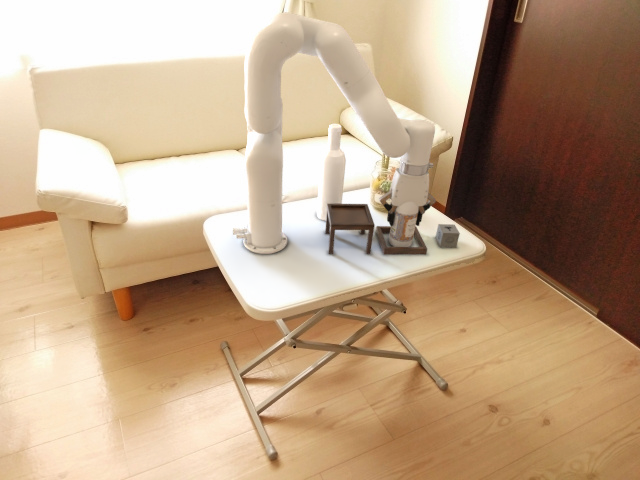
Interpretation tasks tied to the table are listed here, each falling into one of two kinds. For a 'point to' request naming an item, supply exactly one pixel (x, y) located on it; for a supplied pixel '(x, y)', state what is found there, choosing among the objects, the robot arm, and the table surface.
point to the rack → (365, 228)
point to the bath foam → (404, 225)
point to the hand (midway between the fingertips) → (403, 223)
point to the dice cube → (447, 235)
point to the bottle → (331, 172)
